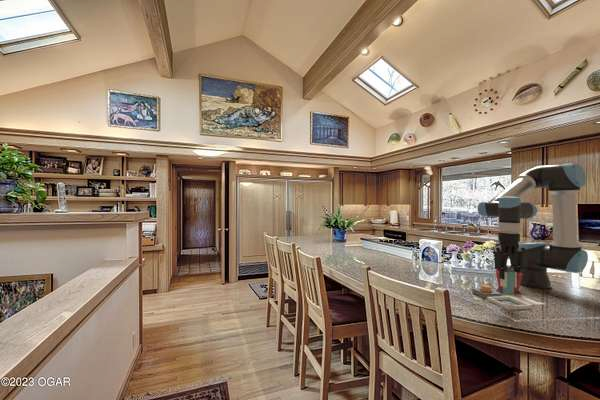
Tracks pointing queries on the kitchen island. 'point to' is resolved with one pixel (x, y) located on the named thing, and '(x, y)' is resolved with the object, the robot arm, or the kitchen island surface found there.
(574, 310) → the kitchen island surface
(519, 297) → the clipboard
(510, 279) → the tall green block
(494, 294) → the button box
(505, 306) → the tray
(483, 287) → the button
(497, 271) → the flower pot
